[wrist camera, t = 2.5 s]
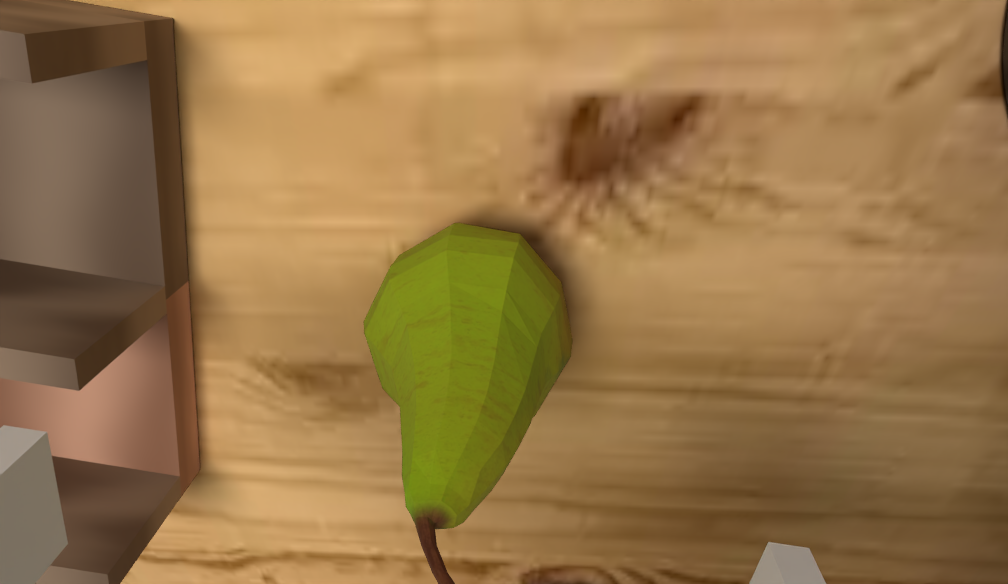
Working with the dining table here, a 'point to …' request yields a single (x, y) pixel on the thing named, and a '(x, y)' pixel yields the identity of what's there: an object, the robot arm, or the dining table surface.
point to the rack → (96, 272)
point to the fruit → (465, 365)
